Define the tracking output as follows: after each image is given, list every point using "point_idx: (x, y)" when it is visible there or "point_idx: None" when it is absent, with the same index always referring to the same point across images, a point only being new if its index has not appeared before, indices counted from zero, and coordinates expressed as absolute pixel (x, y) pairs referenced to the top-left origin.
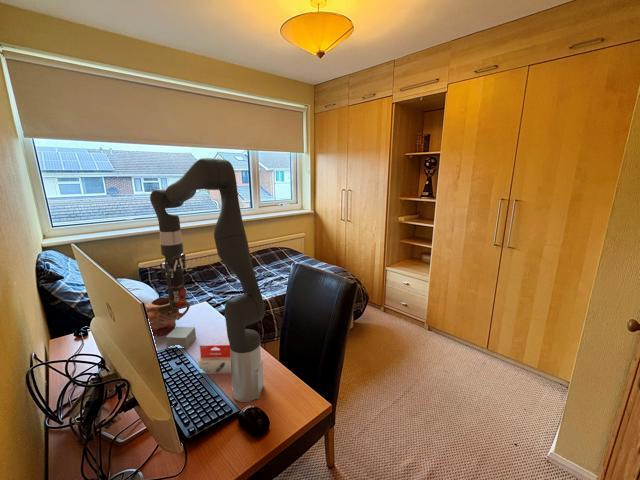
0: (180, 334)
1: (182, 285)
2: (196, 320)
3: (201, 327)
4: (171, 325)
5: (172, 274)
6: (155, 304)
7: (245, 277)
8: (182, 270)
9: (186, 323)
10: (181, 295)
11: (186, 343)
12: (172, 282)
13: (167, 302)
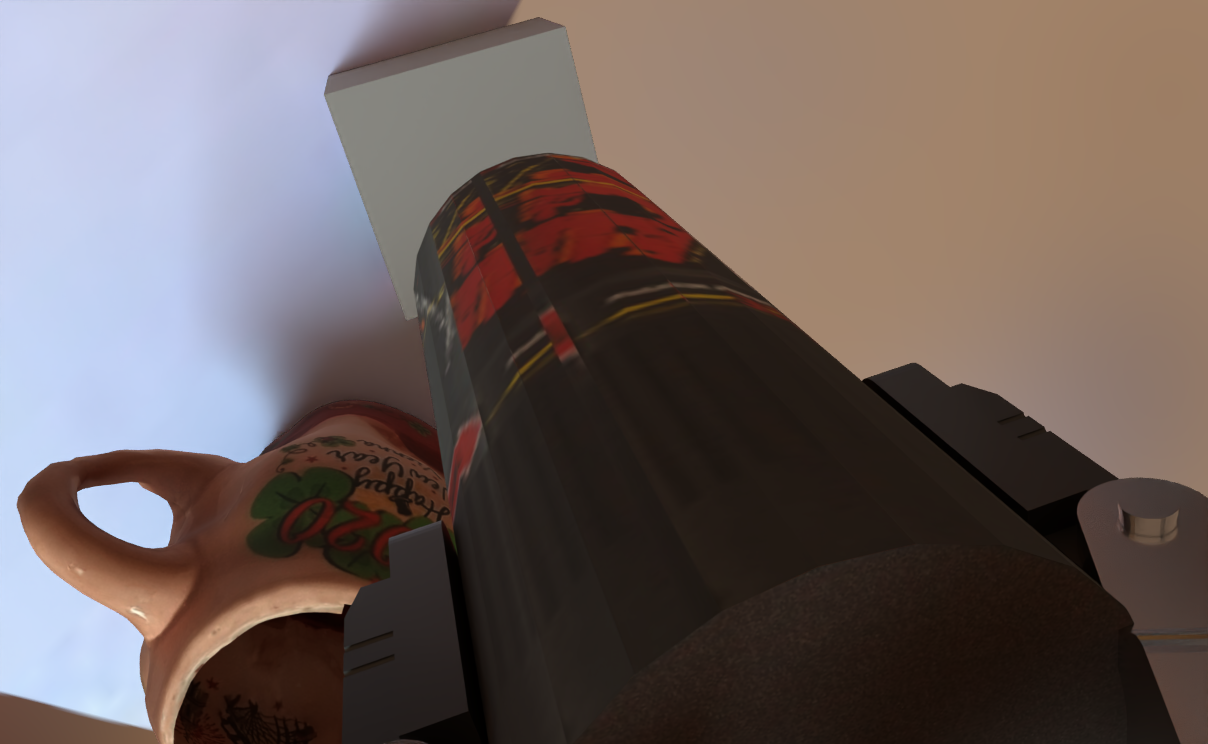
0: (526, 141)
1: (646, 292)
2: (18, 357)
3: (114, 180)
4: (367, 422)
5: (1201, 560)
6: None
7: None
8: (727, 590)
9: (139, 407)
10: (638, 218)
11: (540, 24)
12: (981, 430)
13: (185, 739)
